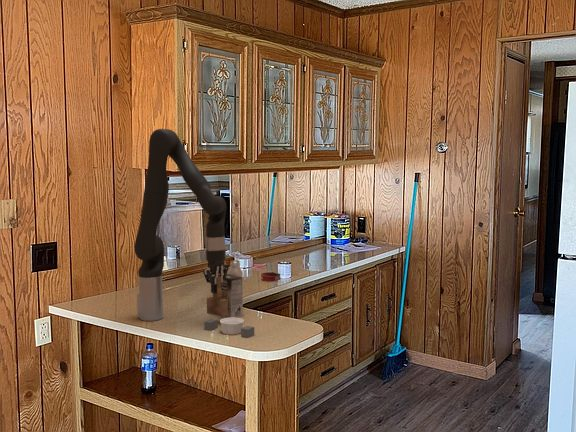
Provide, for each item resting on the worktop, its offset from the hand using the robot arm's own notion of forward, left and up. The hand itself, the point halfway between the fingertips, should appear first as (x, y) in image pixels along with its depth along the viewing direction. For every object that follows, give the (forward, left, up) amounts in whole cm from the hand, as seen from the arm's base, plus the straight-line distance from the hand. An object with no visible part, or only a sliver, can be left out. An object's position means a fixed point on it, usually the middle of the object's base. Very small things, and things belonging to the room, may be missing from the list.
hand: (216, 292), depth 242 cm
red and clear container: (-26, +77, -12) cm, 82 cm away
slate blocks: (+12, -8, -12) cm, 19 cm away
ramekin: (+12, -7, -12) cm, 19 cm away
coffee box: (-2, +11, -12) cm, 17 cm away
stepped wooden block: (0, 0, -9) cm, 9 cm away
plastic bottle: (-8, +22, -12) cm, 26 cm away
